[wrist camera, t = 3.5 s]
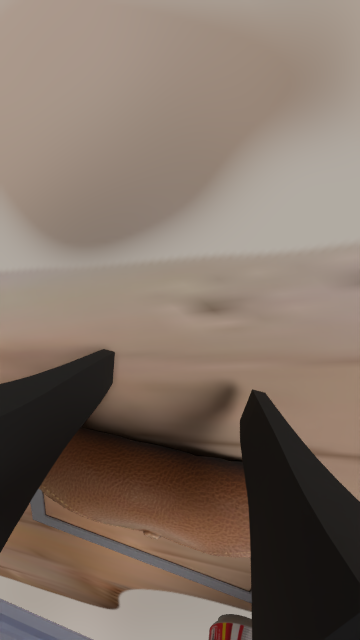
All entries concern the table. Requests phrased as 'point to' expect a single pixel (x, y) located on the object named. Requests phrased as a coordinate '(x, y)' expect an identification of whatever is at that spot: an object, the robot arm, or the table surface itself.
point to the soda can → (231, 628)
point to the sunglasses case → (154, 491)
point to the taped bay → (133, 551)
